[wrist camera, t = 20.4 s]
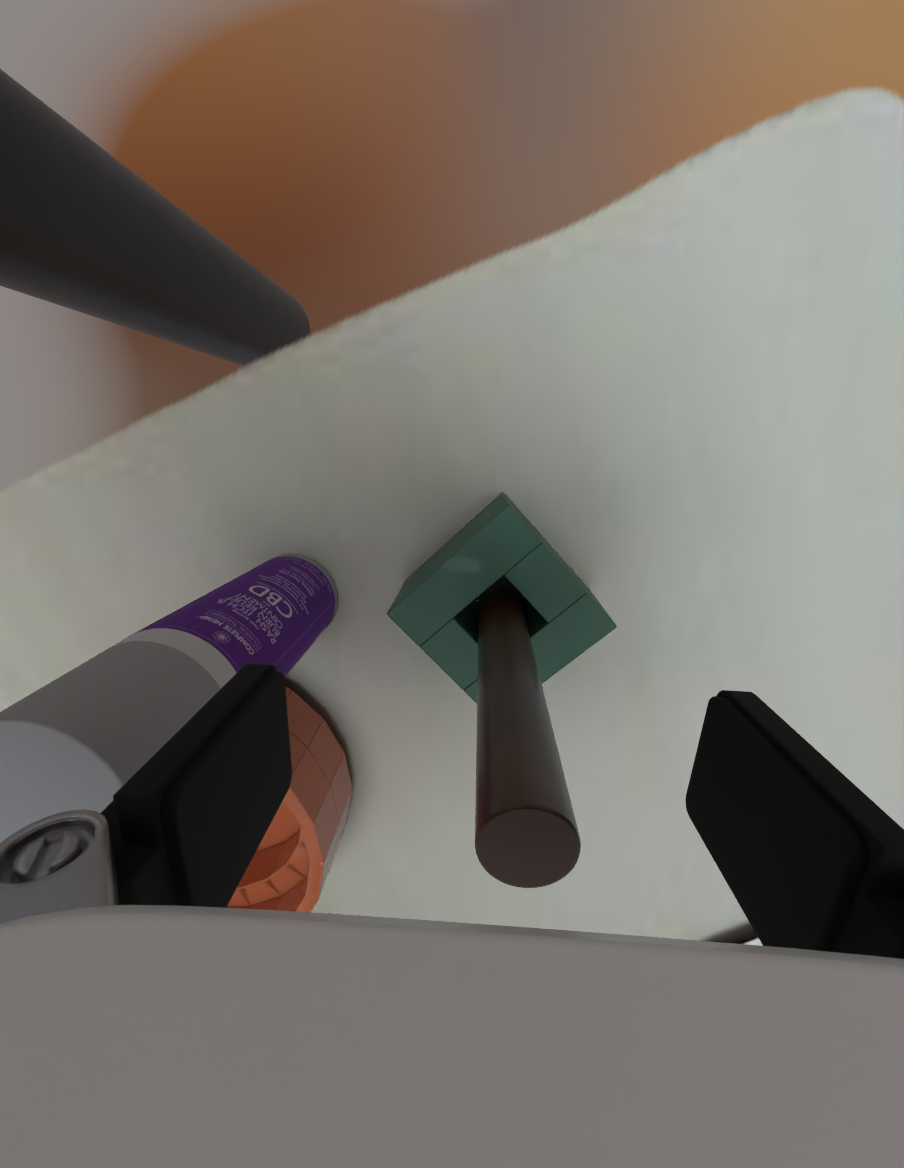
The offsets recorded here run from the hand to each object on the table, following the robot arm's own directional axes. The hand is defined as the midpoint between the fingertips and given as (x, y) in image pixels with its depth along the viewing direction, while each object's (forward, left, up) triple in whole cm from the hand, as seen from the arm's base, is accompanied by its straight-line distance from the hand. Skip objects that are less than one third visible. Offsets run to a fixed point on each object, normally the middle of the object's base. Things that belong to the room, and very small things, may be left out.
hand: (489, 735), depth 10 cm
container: (-6, -9, -14) cm, 18 cm away
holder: (+1, 0, -14) cm, 14 cm away
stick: (+1, 0, -14) cm, 14 cm away
